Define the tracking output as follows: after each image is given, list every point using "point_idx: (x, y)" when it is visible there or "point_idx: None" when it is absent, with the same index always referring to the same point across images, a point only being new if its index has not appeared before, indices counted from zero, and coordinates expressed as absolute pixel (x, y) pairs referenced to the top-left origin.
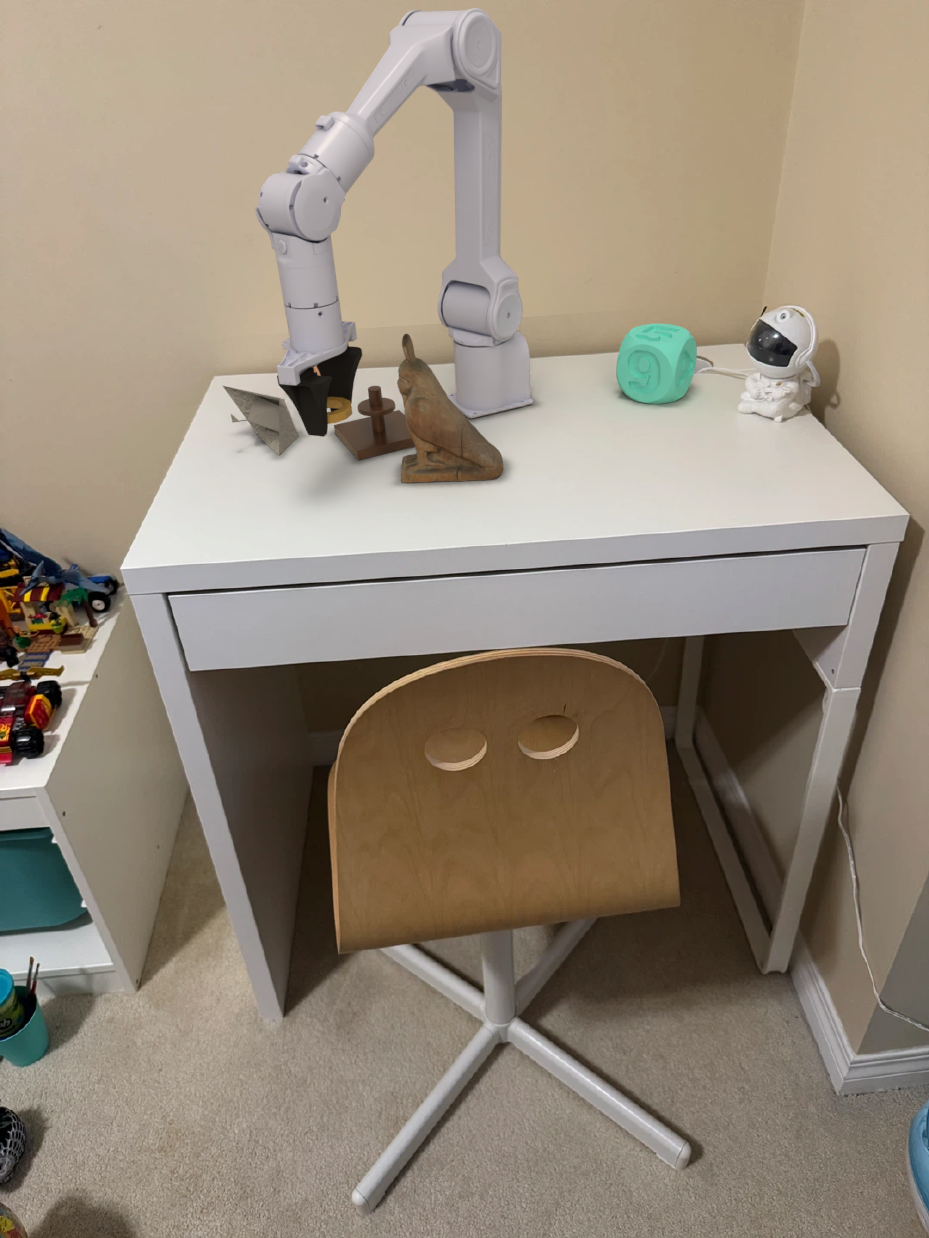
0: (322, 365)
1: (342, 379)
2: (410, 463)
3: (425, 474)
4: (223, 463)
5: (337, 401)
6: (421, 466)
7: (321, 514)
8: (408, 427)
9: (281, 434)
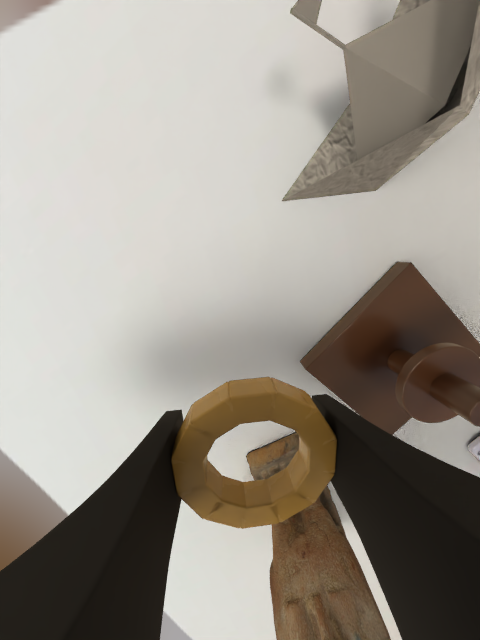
0: (444, 556)
1: (379, 547)
2: None
3: None
4: (211, 78)
5: (306, 469)
6: None
7: (111, 401)
8: (278, 571)
9: (335, 176)
